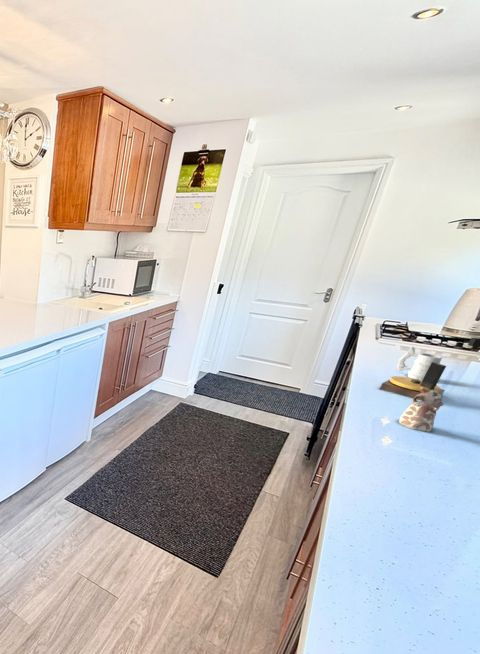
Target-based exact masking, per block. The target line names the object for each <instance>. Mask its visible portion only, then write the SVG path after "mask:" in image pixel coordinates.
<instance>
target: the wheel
mask: <svg viewBox="0 0 480 654" xmlns="http://www.w3.org/2000/svg"><path fill="white" fill-rule="evenodd" d="M446 368H447V365H445V364H442V363H440V364H439V363H436V362H432V363H431V365H430V367H429V369H428V371H427V372H426V374H425V376H424V378H423V380H418V379H413V378H410V377H408V376H407V377H406V376H391V377H390V378H389V380H390V382H392V383H393V384H396V385H398V386H401V387H404V388H408V389H412V390H416V391H420V388H425V390H426V391H427V392H429V391H431V390H434V391H437V392H439V391H440V389H442V387H441V386H439V385H437V384H438V383H439V381H440V379H441V377H442V375H443V373H444V372H445V369H446Z"/></svg>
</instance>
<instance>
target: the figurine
mask: <svg viewBox="0 0 480 654" xmlns="http://www.w3.org/2000/svg"><path fill="white" fill-rule="evenodd" d="M420 392H421V394H418V395H416V396H415V397H414V398H412V403H411V404H410V405H409V406H408V407H407V408H406V409H405V410H404V412H403V413H402V414H401V416H400V417H399V421H398V422H399V424H400V425H402V426H404V427H406V428H409V429H412V430H416V431H421V432H427V433H428V432H431V431H432V429H433V427H434V424H435V419H436V415H437V412H438V411H439V410H440V408H441V407H442V406H444V403H443V402H442V399H443V396H440V395H439V393H438V392H437V391H434V390H431V391H429V392H427V391H426V390H425V388H420ZM419 397H421V398H422V400H418V399H417V398H419Z"/></svg>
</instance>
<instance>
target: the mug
mask: <svg viewBox="0 0 480 654" xmlns="http://www.w3.org/2000/svg"><path fill="white" fill-rule="evenodd" d="M410 357H415V358H416V359H414V361H413V362H414V363H413V364H412V365H406V363H405V362H406V360H407V359H408V358H410ZM442 359H443V357H442V356H440V355H436V354H432V353H424V352H421V353H416V349H415V347H414V346H410V348H409V349H408V351H407V352H406V353H405V354H403V355H402V356H401V357H400V358H398V362H397V364H396V368H397V371H398V372H401V371H404V370H407V377H408V378H413V379H418V380H423V378H424V376H425V374H426V372H427V371H428V369H429V367H430V365H431V363H432V362H436V363H439V364H441V361H442Z"/></svg>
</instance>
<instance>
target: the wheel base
mask: <svg viewBox="0 0 480 654" xmlns="http://www.w3.org/2000/svg"><path fill="white" fill-rule="evenodd" d="M379 390H380V391H385V392H388V393H392V394H396V395H399V396H402V397H403V396H404V397H407V398H410V399H414V397H415V396H416V395H418V394H421V392H420V391H416V390H412V389H408V388H404V387H401V386H398V385H396V384H393V383H392V382H390V379H388V380H386V381H384V382H382V383H381V385H380V387H379ZM445 392H446V389H443V388H441V389H440V391H439V392H438V393H439V395H440V396H441V397H443V395H444V393H445ZM416 400H417V401H422V398H421V397H419V398H417V399H416Z"/></svg>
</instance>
